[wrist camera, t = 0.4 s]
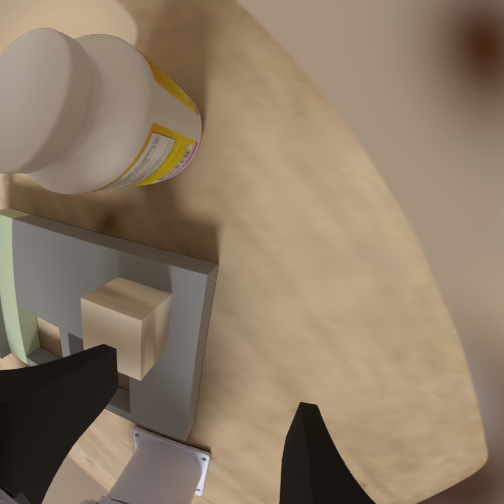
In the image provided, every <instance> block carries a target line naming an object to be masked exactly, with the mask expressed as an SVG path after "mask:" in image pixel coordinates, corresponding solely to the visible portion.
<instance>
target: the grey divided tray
mask: <svg viewBox="0 0 504 504" xmlns="http://www.w3.org/2000/svg"><path fill="white" fill-rule="evenodd" d="M218 267H219V264H218V263H214V262H210V261H206V260H202V259H198V258H194V257H190V256H186V255H182V254H178V253H174V252H170V251H166V250H162V249H158V248H154V247H150V246H147V245H143V244H139V243H135V242H131V241H127V240H124V239H120V238H116V237H112V236H108V235H105V234H101V233H97V232H94V231H90V230H86V229H82V228H79V227H75V226H71V225H68V224H64V223H61V222H57V221H53V220H50V219H46V218H43V217H39V216H35V215H32V214H28V213H25V212H21V211H18V210H14V209H11V208H7V209H2V210H0V358H4V357H5V356H7V355H8V354H10V353H12V354H13V355H14V356H16V357H17V358H19V359H20V360H22V361H23V362H25V363H26V364H27V365H29V366H35V365H39V364H43V363H46V362H50V361H54V360H57V359H60V358H59V357H58V356H56V355H54V354H52V353H51V352H49V351H47V350H45V349H44V348H42V347H40V341H39V335H38V328H37V320H36V316H38V317H39V318H41V319H43V320H45V321H47V322H49V323H51V324H53V325H54V326H56V327H58V328H59V331H60V340H61V348H62V355H63V357H66V356H69V355H72V354H75V353H78V352H81V351H84V345H83V333H82V316H81V297H83V296H85V295H86V294H88V293H90V292H92V291H93V290H95V289H97V288H99V287H101V286H102V285H104V284H106V283H108V282H110V281H111V280H113V279H115V278H117V277H120V278H123V279H126V280H129V281H133V282H136V283H139V284H142V285H145V286H149V287H152V288H155V289H159V290H162V291H165V292H169V293H172V304H171V313H170V324H169V335H168V347H167V349H166V350H165V351H164V353H163V354H162V355H161V356H160V357H159V359H158V360H157V361H156V362H155V364H154V365H153V366H152V367H151V369H150V370H149V371H148V372H147V374H146V375H145V376H144V377H143V378H142V380H141V381H140V380H137V379H135V378H132V377H130V376H129V389H130V391H127V390H125V389H123V388H120V387H118V389H117V391H116V392H115V394H114V396H113V397H112V399H111V400H110V402H109V403H108V405H107V406H106V407H105V409H106V410H108V411H110V412H113V413H115V414H117V415H119V416H121V417H124V418H126V419H128V420H130V421H133V422H135V423H137V424H140V425H142V426H145V427H147V428H150V429H152V430H155V431H157V432H160V433H163V434H165V435H168V436H171V437H174V438H176V439H179V440H182V441H185V442H186V440H187V438H188V435H189V433H190V431H191V429H192V427H193V425H194V423H195V415H196V408H197V401H198V394H199V387H200V380H201V373H202V366H203V359H204V353H205V346H206V340H207V333H208V327H209V321H210V315H211V309H212V302H213V296H214V290H215V285H216V279H217V273H218Z"/></svg>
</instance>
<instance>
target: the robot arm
mask: <svg viewBox="0 0 504 504" xmlns="http://www.w3.org/2000/svg"><path fill="white" fill-rule="evenodd" d="M118 387H119V386H118V370H117V349H116V348H113V347H111V346H108V345H106V344H102V345H98V346H95V347H92V348H89V349H86V350H84V351H81V352H78V353H75V354H72V355H69V356H66V357H63V358H60V359H57V360H54V361H50V362H46V363H43V364H39V365H35V366H30V367H25V368H19V369H11V370H0V504H42V501H43V499H44V497H45V494H46V492H47V490H48V488H49V486H50V484H51V482H52V480H53V478H54V476H55V474H56V472H57V471H58V469H59V467H60V466H61V464H62V462H63V461H64V459H65V457H66V456H67V454H68V453H69V451H70V450H71V448H72V447H73V445H74V444H75V443H76V441H77V440H78V439H79V438H80V436H81V435H82V434H83V433H84V432H85V431H86V429H87V428H88V427H89V426H90V425H91V424H92V423H93V421H94V420H95V419H96V418H97V417H98V416H99V414H100V413H101V412H102V411H103V410H104V409H105V407H106V406H107V405H108V403H109V402H110V400H111V399H112V397H113V396H114V394H115V392H116V391H117V389H118ZM133 437H134V447H135V453H134V455H133V456H132V458H131V459H130V461H129V463H128V464H127V466H126V467H125V469H124V470H123V472H122V474H121V475H120V477H119V478H118V480H117V481H116V483H115V484H114V486H113V488H112V489H111V491H110V492H109V494H108V495H107V497H105V496H102V498H101V499H100V501H99V502H97V501H95V500H94V499H91V500H85V501H83V502H82V503H80V504H191V502H192V499H193V497H194V494H195V495H198V496H201V495H202V494H203V489H204V485H205V480H206V475H207V470H208V465H209V460H210V453H208V452H206V451H203V450H200V449H197V448H194V447H190V446H187V445H184V444H181V443H179V442H176V441H173V440H170V439H167V438H165V437H162V436H159V435H157V434H154V433H151V432H149V431H146V430H144V429H142V428H139V427H134V429H133ZM279 504H376V503H375V502H374V501H373V500H372V499H371V498H370V497H369V496H368V495H367V494H366V493H365V491H364V490H363V489H362V488H361V486H360V485H359V484H358V482H357V481H356V480H355V478H354V477H353V475H352V474H351V473H350V471H349V469H348V468H347V466H346V465H345V463H344V461H343V460H342V458H341V456H340V454H339V452H338V451H337V449H336V447H335V445H334V443H333V441H332V439H331V437H330V434H329V432H328V430H327V428H326V425H325V423H324V421H323V418H322V416H321V413H320V411H319V408H318V406H317V405H315V404H309V403H303V402H300V404H299V406H298V409H297V412H296V414H295V417H294V419H293V422H292V424H291V426H290V429H289V431H288V434H287V436H286V440H285V445H284V451H283V457H282V467H281V485H280V502H279Z"/></svg>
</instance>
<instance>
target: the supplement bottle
mask: <svg viewBox="0 0 504 504" xmlns="http://www.w3.org/2000/svg"><path fill="white" fill-rule="evenodd" d="M201 134H202V122H201V117H200V113H199V111H198V108H197V106H196V104H195V103H194V101H193V100H192V99H191V98H190V96H189V95H188V94H187V93H186V92H185V91H184V90H182V89H181V88H180V87H179V86H178V85H177V84H176V83H175V82H174V81H172V80H171V79H170V78H169V77H168V76H167V75H166V74H164V73H163V72H162V71H161V70H160V69H159V68H158V67H156V66H155V65H154V64H153V63H152V62H151V61H149V60H148V59H147V58H146V57H145V56H144V55H143V54H142V53H141V52H139V51H138V50H137V49H136V48H134V47H133V46H132V45H130V44H129V43H128V42H126V41H124V40H122V39H120V38H118V37H115V36H111V35H105V34H91V35H86V36H82V37H79V38H76V39H73V38H71V37H69V36H67V35H65V34H63V33H61V32H59V31H56V30H54V29H50V28H39V29H35V30H32V31H29V32H27V33H25V34H24V35H22V36H20V37H19V38H18V39H17V40H15V41H14V42H13V43H11V44H10V45H9V46H8V47H7V48H6V49H5V50H4V52H3V53H2V54H1V55H0V173H3V174H13V173H25V174H29V176H30V177H31V178H32V179H33V180H34V181H35V182H36V183H38V184H39V185H40V186H42V187H44V188H45V189H47V190H50V191H53V192H56V193H60V194H79V193H87V192H94V191H100V190H107V189H115V188H122V187H130V186H138V185H147V184H153V183H158V182H162V181H165V180H167V179H170V178H172V177H173V176H175V175H177V174H178V173H179V172H181V171H182V170H183V169H184V168H185V167H186V166H187V165H188V164H189V163H190V161H191V160H192V158H193V157H194V155H195V153H196V152H197V149H198V147H199V144H200V140H201Z"/></svg>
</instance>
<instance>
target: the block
mask: <svg viewBox="0 0 504 504" xmlns="http://www.w3.org/2000/svg"><path fill="white" fill-rule="evenodd" d="M171 304H172V293H169V292H165V291H162V290H159V289H155V288H152V287H149V286H145V285H142V284H139V283H136V282H133V281H129V280H126V279H123V278H120V277H117V278H115V279H113V280H111V281H110V282H108V283H106V284H104V285H102V286H101V287H99V288H97V289H95V290H93V291H92V292H90V293H88V294H86V295H85V296H83V297H81V316H82V333H83V345H84V350H86V349H89V348H92V347H95V346H98V345H102V344H106V345H108V346H111V347H113V348H116V349H117V370H118V372H120V373H123V374H125V375H127V376H130V377H132V378H135V379H137V380H140V381H141V380H142V378H143V377H144V376H145V375H146V374H147V372H148V371H149V370H150V369H151V367H152V366H153V365H154V364H155V362H156V361H157V360H158V359H159V357H160V356H161V355H162V354H163V353H164V351H165V350H166V349H167V347H168V335H169V324H170V313H171Z"/></svg>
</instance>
